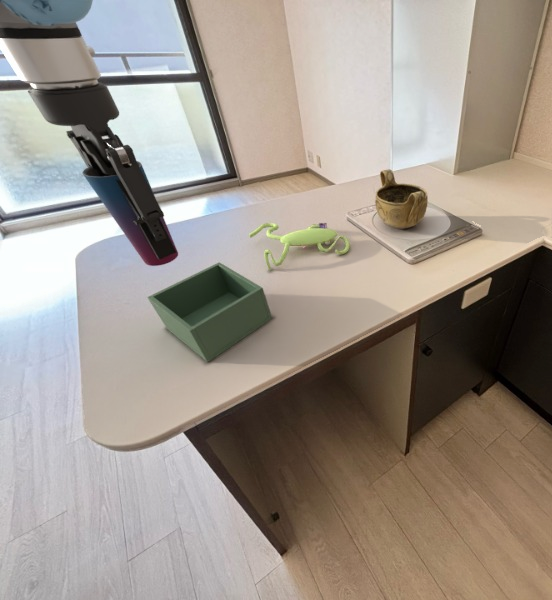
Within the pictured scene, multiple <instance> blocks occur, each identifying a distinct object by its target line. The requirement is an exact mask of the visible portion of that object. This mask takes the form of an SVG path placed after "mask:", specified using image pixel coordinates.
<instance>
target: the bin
mask: <svg viewBox="0 0 552 600" xmlns="http://www.w3.org/2000/svg"><path fill="white" fill-rule="evenodd" d="M147 299H148V301H149V302H150V304H151V306H152V307H153V309H154V310H155V312H156V314H157V315H158V317H159V319H160V320H161V322H162V323H163V325H164V327H165V328H166V329H167V330H168V331H169V332H170V333H171V334H173V335H174V336H175V337H176V338H178V339H179V340H180V341H181V342H183V344H185V345H186V346H187V347H189V349H191V350H192V351H193V352H195V353H196V354H197V355H198V356H199V357H201V358H202V359H203V360H204V362H205V361H206V362H207V363H209V362H211V361H212V360H213V359H215V358H217V357H218V356H219V355H221V354H222V353H223V352H225V351H227V350H228V349H229V348H231V347H233V346H235V344H237V343H239V342H240V341H242V340H243V339H244V338H246V337H248V336H249V335H250V334H251V333H253V332H254V331H256V330H257V329H259V328H260V327H262V326H264V325H265V324H267V323H268V322H270V321H271V320H273V315H272V313H271V309H270V307H269V304H268V300H267V297H266V294H265V291H264V288H263V287H262V286H260V285H259V284H257V283H255V282H254V281H252V280H250V279H248V278H247V277H245V276H244V275H242V274H240V273H238V272H237V271H235V270H233V269H232V268H230V267H229V266H227V265H224V263H221V262H217V263H215V264H213V265H211V266H209V267H206V268H204V269H202V270H201V271H197V272H195V273H194V274H192V275H190V276H188V277H186V278H183V279H182V280H179V281H178V282H175V283H173V284H171V285H169V286H167V287H166V288H163V289H161V290H159V291H157V292H155V293H153V294H151V295H149V296H147Z"/></svg>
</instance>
